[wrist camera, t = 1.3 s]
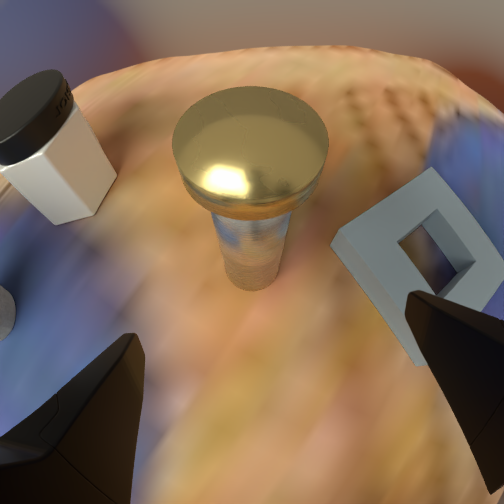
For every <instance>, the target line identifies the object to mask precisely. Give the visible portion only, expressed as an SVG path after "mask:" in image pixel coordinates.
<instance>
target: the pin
mask: <svg viewBox="0 0 504 504" xmlns="http://www.w3.org/2000/svg"><path fill="white" fill-rule="evenodd" d="M328 147H329V139H328V133H327V130H326V127H325V125H324V123H323V121H322V119H321V118H320V116H319V115H318V114H317V113H316V112H315V111H314V110H313V109H312V108H311V107H310V106H309V105H308V104H306V103H305V102H304V101H302V100H301V99H299V98H297V97H295V96H293V95H291V94H289V93H286V92H283V91H280V90H276V89H272V88H267V87H257V86H245V87H235V88H230V89H226V90H222V91H219V92H216V93H213V94H211V95H209V96H207V97H205V98H203V99H201V100H200V101H198V102H197V103H195V104H194V105H193V106H191V107H190V108H189V109H188V110H187V111H186V112H185V113H184V115H183V116H182V117H181V118H180V120H179V122H178V123H177V125H176V128H175V130H174V134H173V139H172V148H173V154H174V157H175V160H176V163H177V166H178V169H179V172H180V175H181V178H182V181H183V184H184V186H185V188H186V190H187V191H188V193H189V194H190V195H191V197H192V198H193V199H194V200H195V201H196V202H197V203H198V204H200V205H201V206H203V207H204V208H205V209H207V210H209V211H211V214H212V218H213V222H214V226H215V230H216V234H217V238H218V242H219V246H220V250H221V254H222V258H223V262H224V265H225V269H226V273H227V276H228V278H229V279H230V281H231V282H232V283H233V284H234V285H235V286H237V287H239V288H241V289H243V290H247V291H257V290H261V289H263V288H265V287H267V286H268V285H270V284H271V283H272V282H273V280H274V279H275V277H276V275H277V273H278V269H279V264H280V260H281V256H282V251H283V247H284V243H285V238H286V234H287V230H288V225H289V221H290V216H291V212H292V210H294V209H295V208H297V207H298V206H300V205H301V204H302V203H303V202H305V201H306V200H307V199H308V198H309V196H310V195H311V194H312V193H313V191H314V190H315V188H316V186H317V184H318V182H319V179H320V176H321V173H322V169H323V166H324V163H325V159H326V156H327V152H328Z"/></svg>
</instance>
